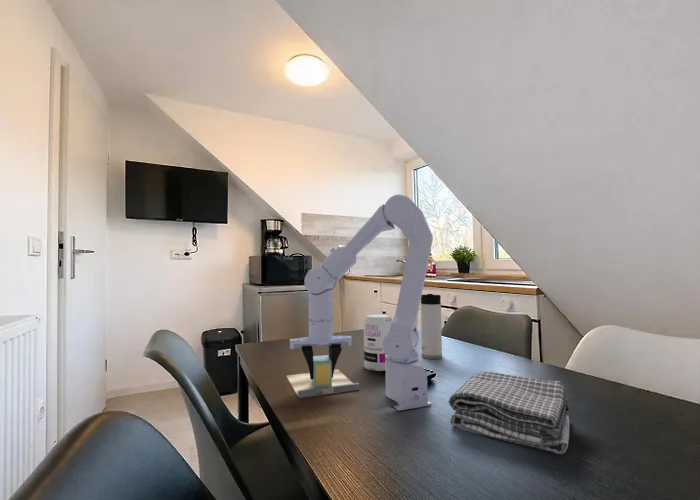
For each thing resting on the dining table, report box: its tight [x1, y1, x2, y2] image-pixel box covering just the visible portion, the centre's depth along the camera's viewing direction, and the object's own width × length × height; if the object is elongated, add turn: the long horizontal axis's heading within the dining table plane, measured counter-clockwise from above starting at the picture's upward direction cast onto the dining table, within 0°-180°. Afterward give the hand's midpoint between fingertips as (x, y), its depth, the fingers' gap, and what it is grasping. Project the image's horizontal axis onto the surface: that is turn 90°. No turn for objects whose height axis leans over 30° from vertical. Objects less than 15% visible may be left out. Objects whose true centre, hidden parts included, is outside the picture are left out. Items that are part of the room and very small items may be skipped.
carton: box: [312, 354, 332, 389], centre depth 82 cm, size 4×6×6 cm, turn 11°
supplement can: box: [363, 313, 393, 372], centre depth 98 cm, size 8×8×15 cm
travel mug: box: [420, 293, 443, 360], centre depth 110 cm, size 6×7×20 cm
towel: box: [447, 370, 571, 455], centre depth 64 cm, size 15×18×8 cm
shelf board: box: [286, 368, 361, 399], centre depth 85 cm, size 16×14×2 cm
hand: (321, 377), depth 83 cm, fingers closed on carton, 4 cm apart
